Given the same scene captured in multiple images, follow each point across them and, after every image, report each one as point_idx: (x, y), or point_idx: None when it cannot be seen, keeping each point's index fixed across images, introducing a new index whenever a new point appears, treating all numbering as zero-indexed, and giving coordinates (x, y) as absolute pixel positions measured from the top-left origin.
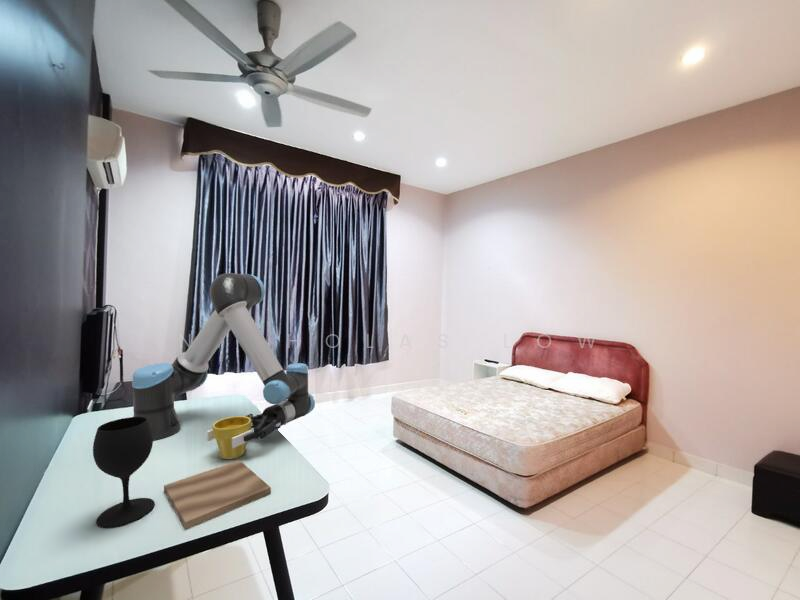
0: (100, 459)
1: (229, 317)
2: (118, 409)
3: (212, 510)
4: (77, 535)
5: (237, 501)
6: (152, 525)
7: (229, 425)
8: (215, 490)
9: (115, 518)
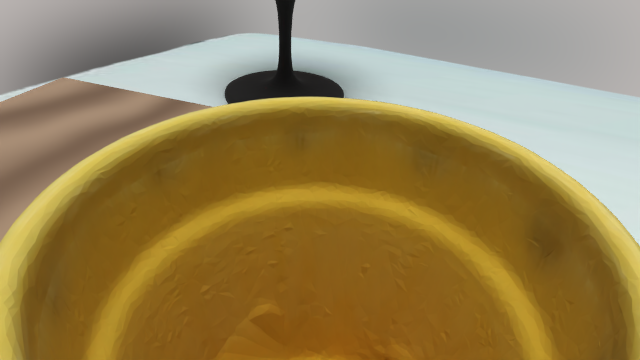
0: None
1: None
2: None
3: (6, 101)
4: (297, 64)
5: None
6: (171, 89)
7: None
8: (62, 142)
9: (271, 74)
